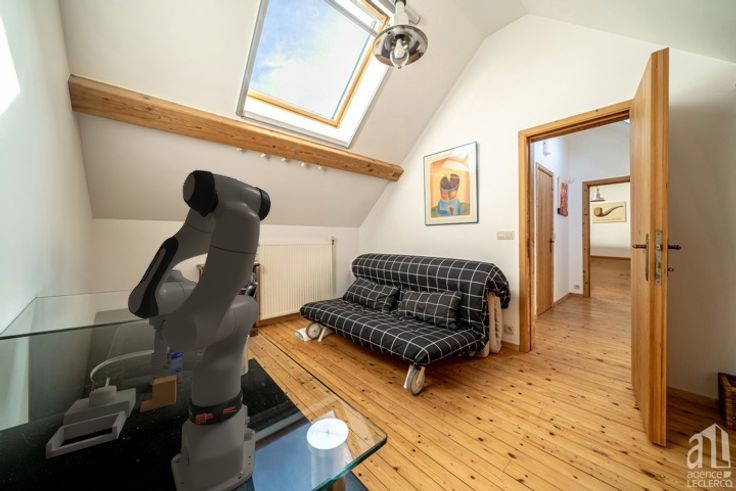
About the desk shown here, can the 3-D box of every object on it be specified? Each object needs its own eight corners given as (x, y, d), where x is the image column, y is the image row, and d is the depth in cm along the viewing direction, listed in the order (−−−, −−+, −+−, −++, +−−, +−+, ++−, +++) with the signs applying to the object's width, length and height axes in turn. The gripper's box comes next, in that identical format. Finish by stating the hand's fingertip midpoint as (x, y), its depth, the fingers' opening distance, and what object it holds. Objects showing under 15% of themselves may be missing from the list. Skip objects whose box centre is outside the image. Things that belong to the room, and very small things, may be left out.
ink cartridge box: (183, 380, 104) (184, 344, 104) (170, 387, 99) (171, 349, 99) (163, 378, 106) (163, 342, 106) (149, 385, 101) (150, 347, 101)
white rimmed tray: (119, 438, 72) (119, 408, 72) (42, 459, 65) (43, 426, 65) (135, 402, 89) (135, 378, 89) (76, 416, 82) (76, 390, 82)
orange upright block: (175, 403, 88) (175, 379, 89) (140, 412, 84) (140, 387, 84) (176, 398, 92) (176, 375, 92) (142, 406, 87) (143, 381, 87)
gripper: (174, 323, 82) (173, 367, 82) (179, 310, 99) (178, 346, 99) (148, 326, 79) (147, 372, 78) (158, 311, 96) (157, 349, 96)
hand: (164, 358), depth 89 cm, fingers open, 8 cm apart
